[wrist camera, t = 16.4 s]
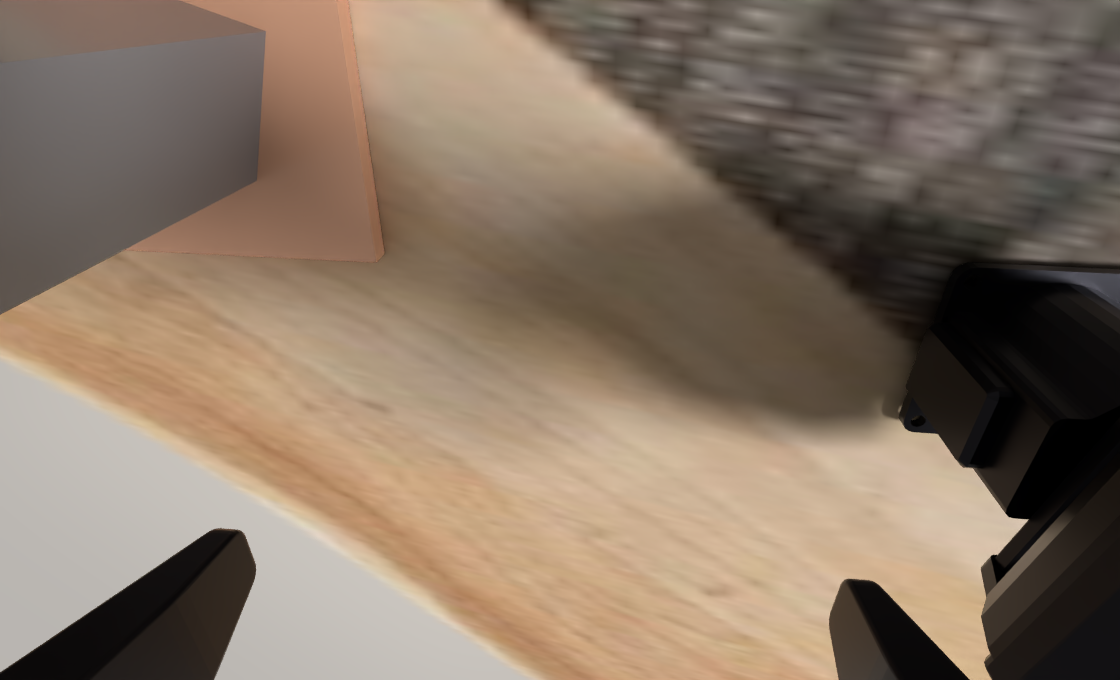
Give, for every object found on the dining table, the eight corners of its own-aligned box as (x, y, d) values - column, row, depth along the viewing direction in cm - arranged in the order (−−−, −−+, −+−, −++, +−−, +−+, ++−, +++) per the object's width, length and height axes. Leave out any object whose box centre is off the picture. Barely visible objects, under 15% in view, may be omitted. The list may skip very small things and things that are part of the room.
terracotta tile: (326, -147, 16) (312, -153, 15) (384, 253, 21) (376, 262, 20) (-32, -145, 16) (-61, -151, 16) (116, 240, 22) (99, 249, 21)
